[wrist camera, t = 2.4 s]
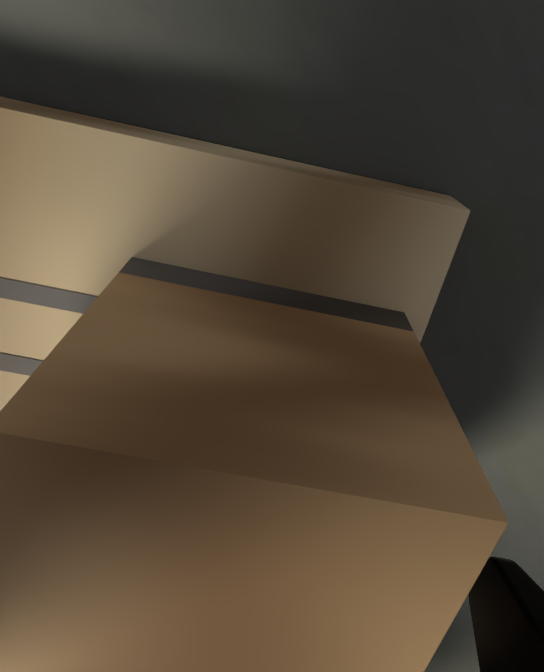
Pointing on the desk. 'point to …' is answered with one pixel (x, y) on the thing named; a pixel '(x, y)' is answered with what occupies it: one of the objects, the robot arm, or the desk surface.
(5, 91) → the desk surface
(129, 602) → the block
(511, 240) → the desk surface
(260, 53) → the desk surface
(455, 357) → the desk surface
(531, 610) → the robot arm
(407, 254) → the pine board
